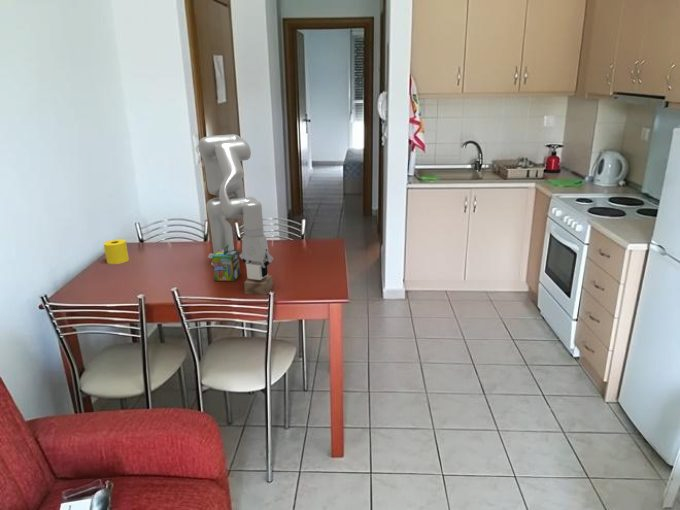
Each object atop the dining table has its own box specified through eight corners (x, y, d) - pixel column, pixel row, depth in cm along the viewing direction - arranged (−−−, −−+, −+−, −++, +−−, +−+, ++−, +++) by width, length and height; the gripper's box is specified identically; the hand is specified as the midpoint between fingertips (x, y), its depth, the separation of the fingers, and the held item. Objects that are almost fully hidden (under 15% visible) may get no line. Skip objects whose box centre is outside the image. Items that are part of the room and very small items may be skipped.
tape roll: (119, 264, 252) (115, 246, 249) (102, 263, 256) (98, 244, 253) (133, 258, 261) (130, 240, 258) (116, 256, 265) (113, 238, 262)
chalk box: (221, 273, 236) (217, 242, 231) (241, 274, 235) (238, 242, 230) (214, 281, 227) (210, 248, 223) (234, 281, 226) (231, 248, 222)
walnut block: (245, 294, 213) (243, 283, 211) (252, 286, 221) (251, 275, 220) (266, 295, 211) (265, 283, 210) (272, 286, 220) (272, 275, 218)
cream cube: (247, 278, 213) (246, 264, 211) (255, 273, 218) (254, 259, 216) (260, 280, 210) (259, 265, 209) (268, 275, 216) (266, 261, 214)
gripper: (230, 233, 208) (234, 275, 214) (267, 236, 202) (271, 280, 207) (240, 228, 215) (244, 269, 221) (277, 231, 208) (280, 274, 214)
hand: (257, 274), depth 214 cm, fingers closed on cream cube, 6 cm apart
